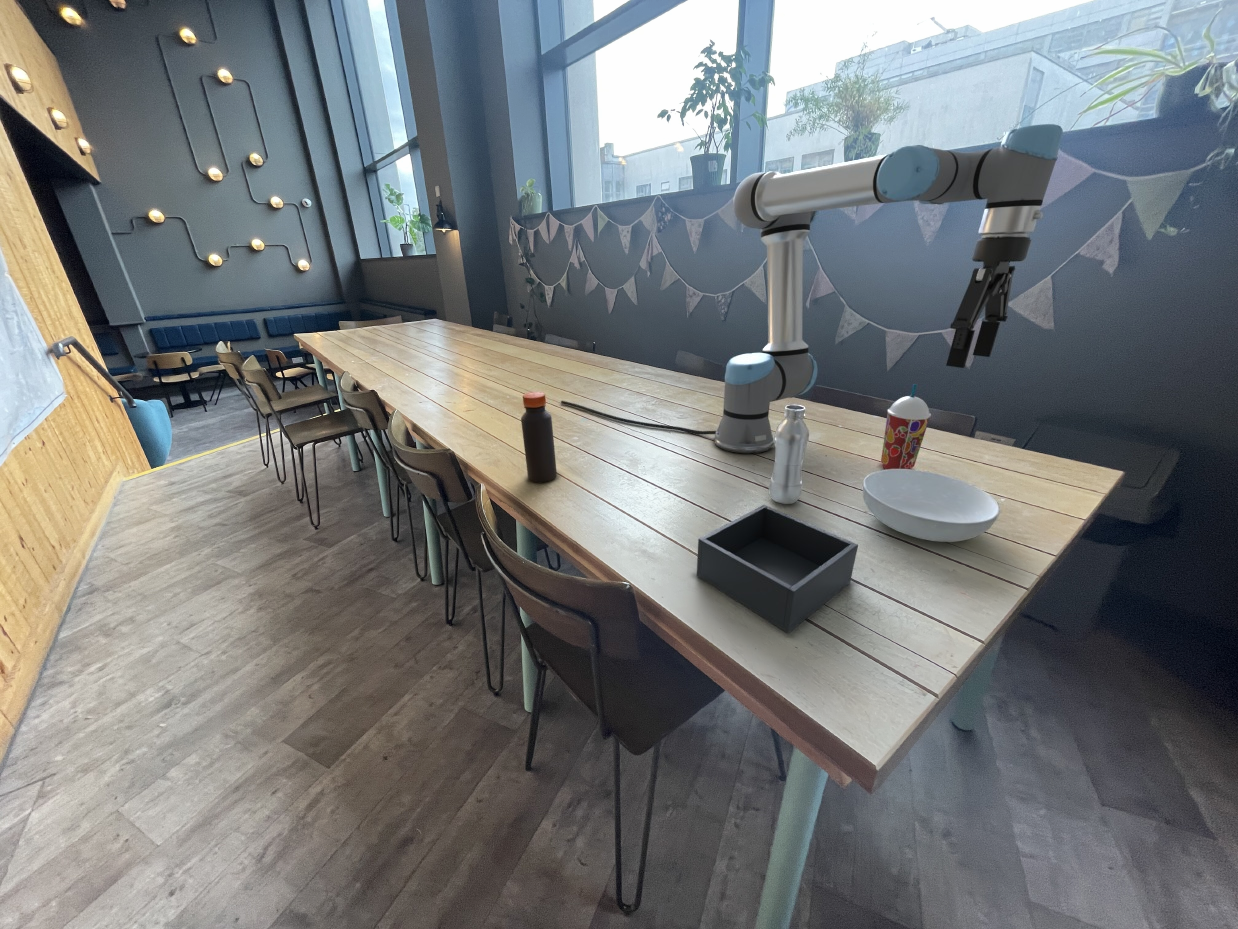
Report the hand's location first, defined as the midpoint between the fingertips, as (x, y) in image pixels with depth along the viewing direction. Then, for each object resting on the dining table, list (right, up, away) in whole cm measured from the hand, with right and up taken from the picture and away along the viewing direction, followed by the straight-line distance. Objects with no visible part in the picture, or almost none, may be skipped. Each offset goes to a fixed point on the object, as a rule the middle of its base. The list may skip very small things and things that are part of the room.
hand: (968, 361), depth 89 cm
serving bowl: (-11, -31, -2) cm, 33 cm away
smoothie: (-1, -21, +21) cm, 30 cm away
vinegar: (-84, -23, +23) cm, 90 cm away
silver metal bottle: (-32, -27, +9) cm, 43 cm away
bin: (-42, -38, -15) cm, 59 cm away
